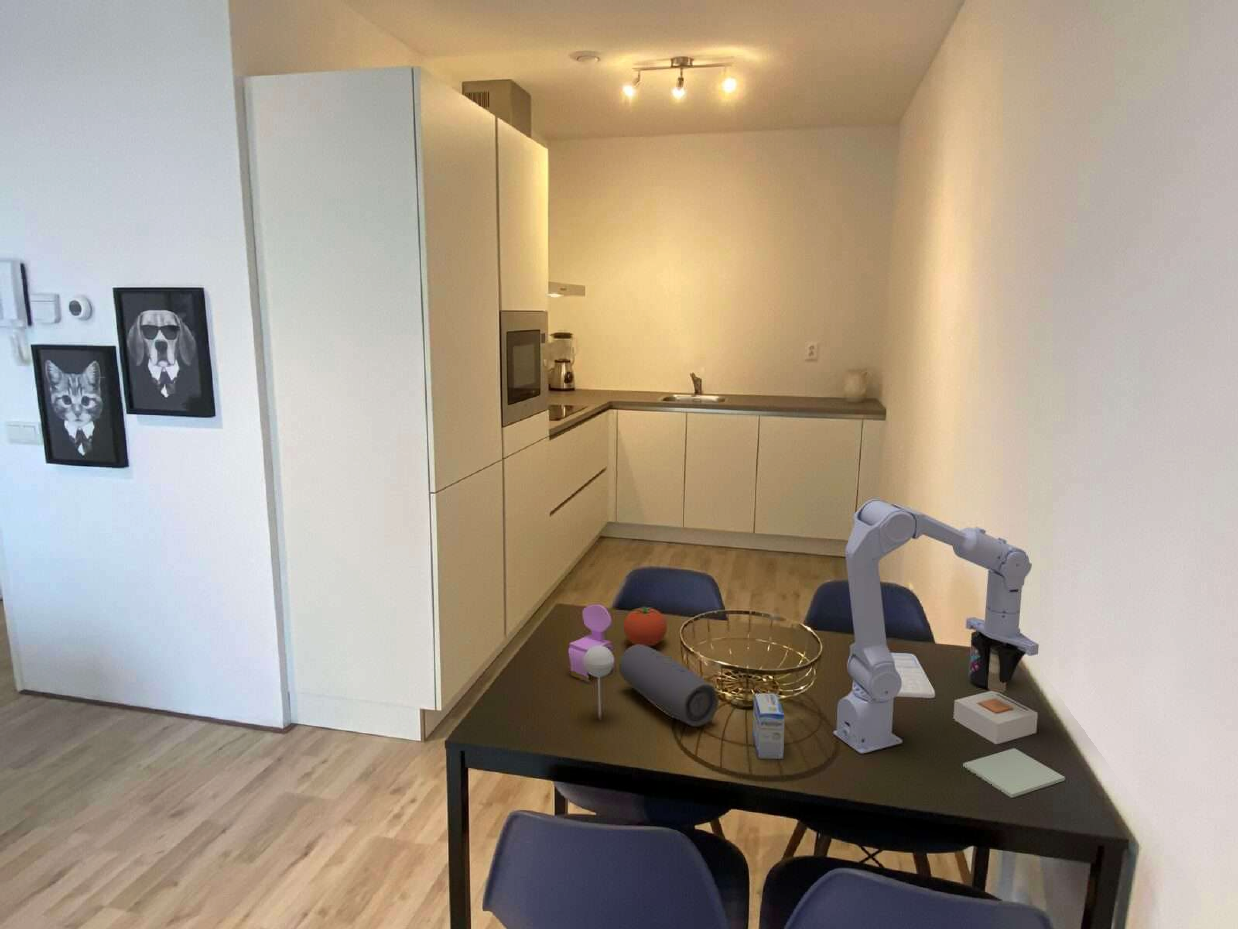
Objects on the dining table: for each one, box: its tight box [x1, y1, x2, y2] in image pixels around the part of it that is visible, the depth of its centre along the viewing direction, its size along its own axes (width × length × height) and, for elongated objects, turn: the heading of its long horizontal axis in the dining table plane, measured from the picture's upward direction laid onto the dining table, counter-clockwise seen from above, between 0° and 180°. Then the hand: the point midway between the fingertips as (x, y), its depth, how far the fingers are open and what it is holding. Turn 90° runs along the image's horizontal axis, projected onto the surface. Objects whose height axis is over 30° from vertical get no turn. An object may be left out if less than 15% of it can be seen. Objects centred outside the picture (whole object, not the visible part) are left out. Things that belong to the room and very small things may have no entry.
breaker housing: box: [953, 690, 1039, 745], centre depth 149 cm, size 10×10×4 cm
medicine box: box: [752, 693, 785, 760], centre depth 142 cm, size 8×4×9 cm, turn 178°
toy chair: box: [568, 604, 615, 678], centre depth 173 cm, size 8×9×15 cm
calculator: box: [890, 652, 936, 699], centre depth 171 cm, size 13×20×2 cm, turn 172°
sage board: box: [962, 748, 1066, 799], centre depth 134 cm, size 12×10×1 cm
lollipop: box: [583, 646, 615, 716], centre depth 153 cm, size 6×6×15 cm
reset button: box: [979, 698, 1012, 714], centre depth 149 cm, size 4×4×3 cm
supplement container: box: [968, 630, 1005, 690], centre depth 166 cm, size 7×7×10 cm
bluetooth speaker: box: [618, 644, 719, 727], centre depth 157 cm, size 23×9×10 cm, turn 32°
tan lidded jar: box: [987, 645, 1007, 693], centre depth 147 cm, size 3×3×8 cm
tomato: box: [623, 605, 667, 648], centre depth 188 cm, size 10×10×10 cm
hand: (997, 677), depth 148 cm, fingers closed on tan lidded jar, 3 cm apart
